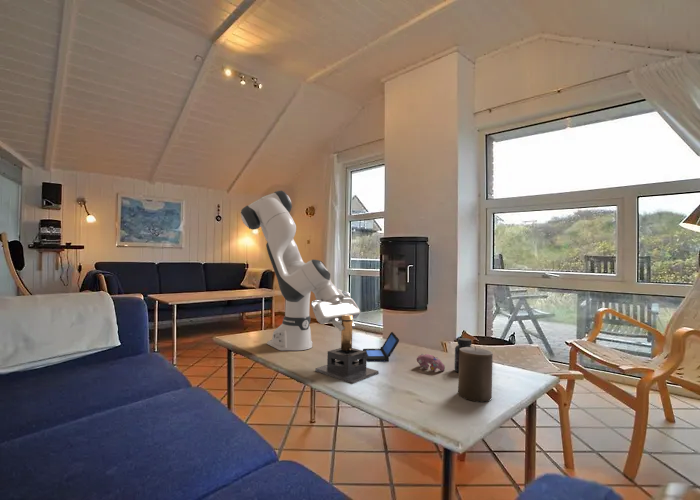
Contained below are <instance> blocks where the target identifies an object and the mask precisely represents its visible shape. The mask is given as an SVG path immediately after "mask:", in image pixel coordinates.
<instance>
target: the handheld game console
mask: <svg viewBox="0 0 700 500" xmlns="http://www.w3.org/2000/svg"><path fill="white" fill-rule="evenodd" d="M399 342H400V339H399V338H398V336H397V335H396V334H395V333H394V331H391V332H390V333H389V334H388V337H387V338H386V340H385V342H384V343H383V344H382V346H381V347H379V348H362V351H366V352H367V361H366V362H389V361H390V358H391V355H392V354H393V352H394V350H395V349H396V347H397V346H398V344H399Z"/></svg>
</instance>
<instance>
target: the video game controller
mask: <svg viewBox="0 0 700 500" xmlns="http://www.w3.org/2000/svg"><path fill="white" fill-rule="evenodd" d="M416 362H417V363H418V364H419V365H420V366H421V367H422V368H423V369H425V370H428V369H430V370H431V371H433V372H435V371H437V369H438V370H439V371H440V372H444V371H445V368H446V367H445V364H444V363H443V362H442V361H441V359H440V358H439V357H438V356H434V355H432V354H429V353H428V354H427V353H425V354H423V353H421V354H420V355H418V356H417V357H416Z"/></svg>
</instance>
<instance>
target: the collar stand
mask: <svg viewBox="0 0 700 500" xmlns="http://www.w3.org/2000/svg"><path fill="white" fill-rule="evenodd" d="M326 360H327V364H324V365H321V366H318V367H315V372H317V373H320V374H323V375H326V376H328V377H332V378H335V379H338V380H341V381H343V382H346V383H350V384H351V385H352V384H357V383H358V382H361V381H363V380H366V379H369V378H371V377H373V376H377V375H379V370H376V369H373V368H369V367H367V362H368V361H367V352H366V351H363V349H362V350H361V349H357V348H353V347H352V350H341V347H339V348H336V349H335V348H334V349H332V350H328V351H327V358H326Z"/></svg>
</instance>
